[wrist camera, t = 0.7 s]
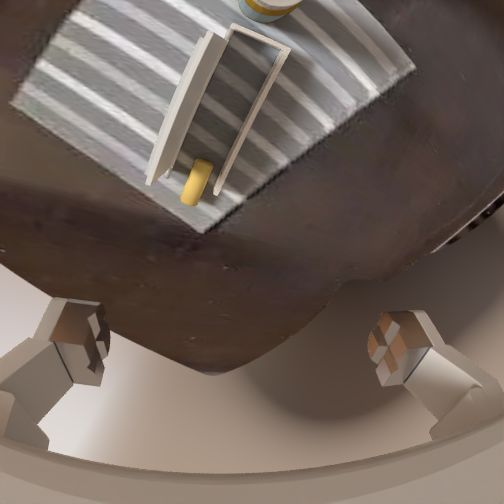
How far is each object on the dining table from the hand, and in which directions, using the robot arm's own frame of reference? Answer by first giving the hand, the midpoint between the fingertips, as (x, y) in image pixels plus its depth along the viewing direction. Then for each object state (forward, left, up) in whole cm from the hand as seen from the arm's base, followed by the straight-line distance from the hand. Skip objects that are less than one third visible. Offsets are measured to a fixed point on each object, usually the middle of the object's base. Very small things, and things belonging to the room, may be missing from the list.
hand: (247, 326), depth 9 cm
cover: (+2, -5, -35) cm, 35 cm away
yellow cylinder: (+14, +1, -43) cm, 45 cm away
